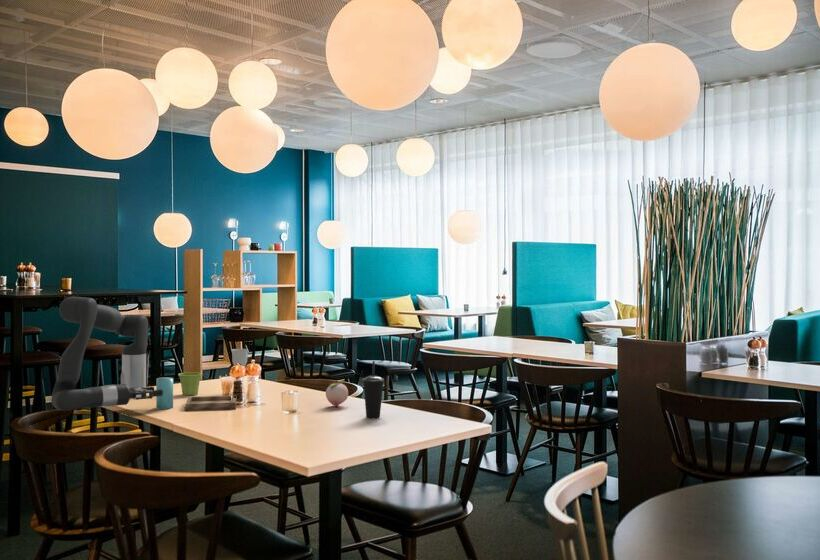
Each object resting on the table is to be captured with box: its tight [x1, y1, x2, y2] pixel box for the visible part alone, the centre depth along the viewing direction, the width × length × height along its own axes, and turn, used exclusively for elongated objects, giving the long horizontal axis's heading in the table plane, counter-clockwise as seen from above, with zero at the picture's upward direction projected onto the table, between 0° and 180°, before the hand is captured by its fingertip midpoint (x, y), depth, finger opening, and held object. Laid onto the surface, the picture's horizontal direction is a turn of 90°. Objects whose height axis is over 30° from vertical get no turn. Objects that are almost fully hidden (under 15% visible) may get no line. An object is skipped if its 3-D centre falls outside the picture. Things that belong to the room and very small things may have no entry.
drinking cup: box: [362, 360, 385, 419], centre depth 267 cm, size 8×8×20 cm
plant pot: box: [177, 371, 203, 397], centre depth 311 cm, size 9×9×9 cm
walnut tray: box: [185, 395, 237, 411], centre depth 285 cm, size 18×16×2 cm
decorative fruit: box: [325, 380, 349, 407], centre depth 287 cm, size 9×8×10 cm
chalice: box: [230, 348, 249, 367], centre depth 320 cm, size 7×7×18 cm
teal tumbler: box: [155, 376, 174, 410], centre depth 280 cm, size 6×6×11 cm
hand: (158, 391), depth 278 cm, fingers open, 8 cm apart
